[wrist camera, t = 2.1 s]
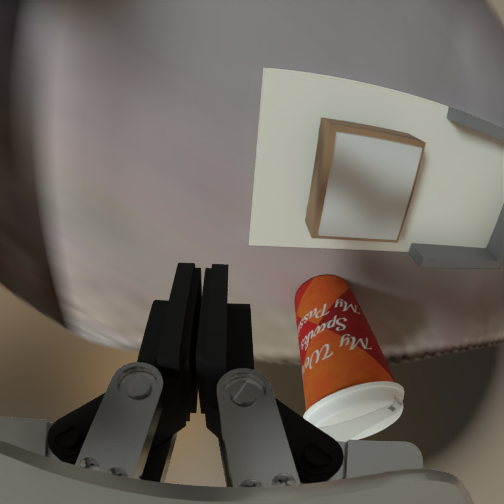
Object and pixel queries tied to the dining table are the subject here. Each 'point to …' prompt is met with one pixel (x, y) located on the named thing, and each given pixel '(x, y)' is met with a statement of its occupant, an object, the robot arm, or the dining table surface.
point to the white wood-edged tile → (362, 181)
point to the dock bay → (428, 181)
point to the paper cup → (342, 363)
